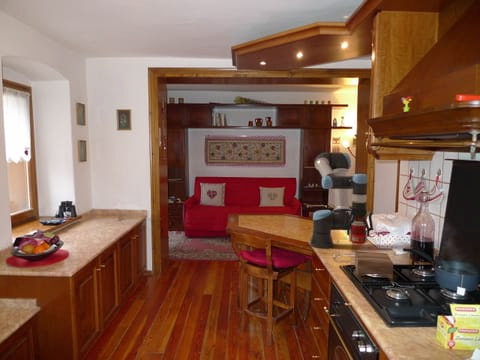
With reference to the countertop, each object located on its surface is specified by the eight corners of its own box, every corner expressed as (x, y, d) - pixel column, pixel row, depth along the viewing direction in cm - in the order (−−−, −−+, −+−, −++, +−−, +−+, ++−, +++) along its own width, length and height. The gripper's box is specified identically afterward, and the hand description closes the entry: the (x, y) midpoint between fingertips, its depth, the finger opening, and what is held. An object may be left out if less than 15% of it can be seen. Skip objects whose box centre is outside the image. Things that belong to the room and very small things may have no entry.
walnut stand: (354, 265, 174) (355, 251, 173) (386, 268, 169) (387, 253, 169) (357, 276, 158) (358, 260, 158) (392, 279, 154) (393, 263, 153)
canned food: (367, 244, 176) (368, 224, 174) (352, 244, 176) (353, 224, 175) (362, 240, 183) (363, 221, 182) (348, 240, 183) (349, 221, 182)
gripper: (339, 202, 176) (338, 242, 178) (380, 203, 171) (378, 244, 173) (339, 199, 184) (338, 238, 186) (378, 201, 178) (376, 241, 180)
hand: (357, 241), depth 179 cm, fingers closed on canned food, 8 cm apart
